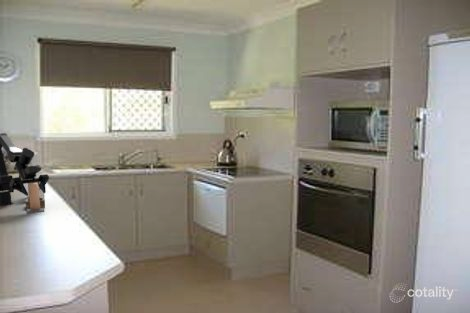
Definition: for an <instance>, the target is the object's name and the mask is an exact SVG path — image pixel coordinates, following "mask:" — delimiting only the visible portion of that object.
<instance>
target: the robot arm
mask: <svg viewBox="0 0 470 313" xmlns="http://www.w3.org/2000/svg"><path fill="white" fill-rule="evenodd" d="M2 149H4V150H5V151H6V153H7V156H6V157H7V160H8V161H9V162H10V163H15V164H14V168H13V169H14V170H13V171H17V173H18V177H17V176H16V177H13V176H12V174H9V173H8V169H7V166H6V160H5V158H4V154H3V150H2ZM31 150H32V149H28V147H23V149H21V148H18V147H16V146H15V144H14V143H13V142H12V140H11V139H10V138H9V136H8V134H7V133H6V132H0V206H8V205H12V204H14V202H13V201H12V195H11V194H12V193H14V191H15V190H16V191H18V192H20V193H21V194H23V195H24V196H27V197H28V190H27V189H26V186H24V184H27V185H28V183H36V182H37V183H38V185H39V188H40V189H41V190H42V192H43V193H44V194H46V192H47V191H46V190H47V189H46V185H47V183H48V181H49V180H50V176H49V175H48V174H39V178H35V177H36V173H37V172H39V171H40V172H41V171H42V168H41V166H40V165H41V164H40V165H36V166H28V164H30V163H31V161H32V159H33V157H34V152H35V151H31Z"/></svg>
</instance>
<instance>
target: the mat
mask: <svg viewBox="0 0 470 313" xmlns="http://www.w3.org/2000/svg"><path fill="white" fill-rule="evenodd" d="M44 212H45V208H40V209H39V210H31V209H26V214H31V213H44Z"/></svg>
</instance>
